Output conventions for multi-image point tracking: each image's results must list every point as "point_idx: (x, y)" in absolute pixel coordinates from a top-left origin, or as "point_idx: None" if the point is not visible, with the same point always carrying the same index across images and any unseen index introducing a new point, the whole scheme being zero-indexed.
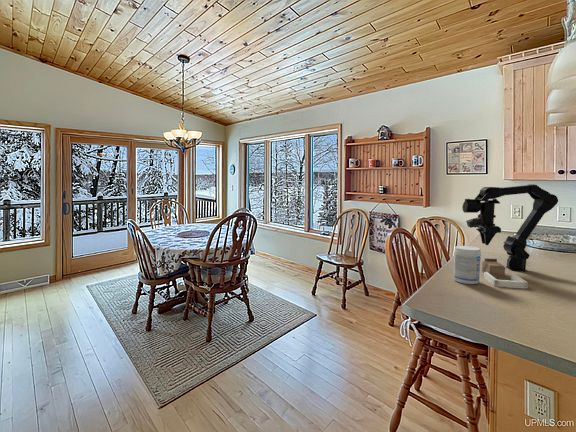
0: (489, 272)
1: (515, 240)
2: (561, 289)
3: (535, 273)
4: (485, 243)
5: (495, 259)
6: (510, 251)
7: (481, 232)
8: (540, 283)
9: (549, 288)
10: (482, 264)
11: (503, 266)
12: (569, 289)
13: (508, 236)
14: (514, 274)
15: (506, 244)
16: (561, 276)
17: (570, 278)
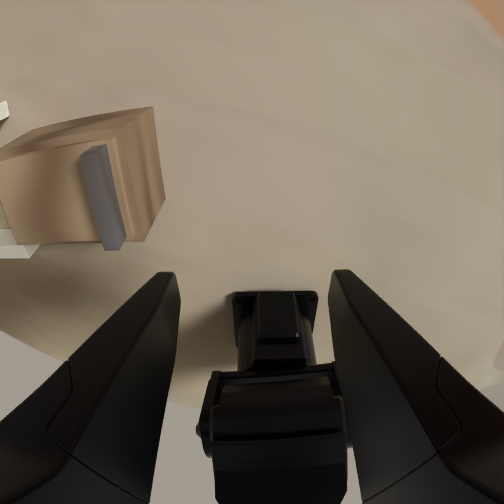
0: (15, 139)
1: (216, 492)
2: (25, 332)
3: (214, 356)
4: (144, 287)
5: (102, 238)
6: (226, 392)
7: (439, 485)
8: (51, 311)
9: (11, 308)
10: (129, 119)
11: (17, 239)
12: (40, 349)
13: (337, 501)
14: (18, 255)
15: (305, 432)
16: (201, 397)
17: (184, 404)
